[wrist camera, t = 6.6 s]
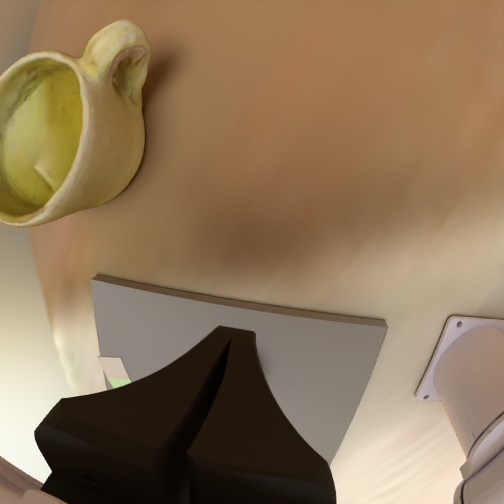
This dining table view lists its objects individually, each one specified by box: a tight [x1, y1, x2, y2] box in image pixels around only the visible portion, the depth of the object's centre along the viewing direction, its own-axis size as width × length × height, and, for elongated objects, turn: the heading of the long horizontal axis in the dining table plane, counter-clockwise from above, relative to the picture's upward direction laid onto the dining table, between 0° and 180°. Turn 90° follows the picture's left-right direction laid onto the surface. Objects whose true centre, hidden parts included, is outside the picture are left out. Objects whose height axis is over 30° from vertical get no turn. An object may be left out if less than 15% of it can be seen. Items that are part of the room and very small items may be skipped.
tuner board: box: [91, 275, 388, 466], centre depth 24 cm, size 21×22×1 cm
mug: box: [0, 19, 152, 228], centre depth 16 cm, size 12×10×10 cm
